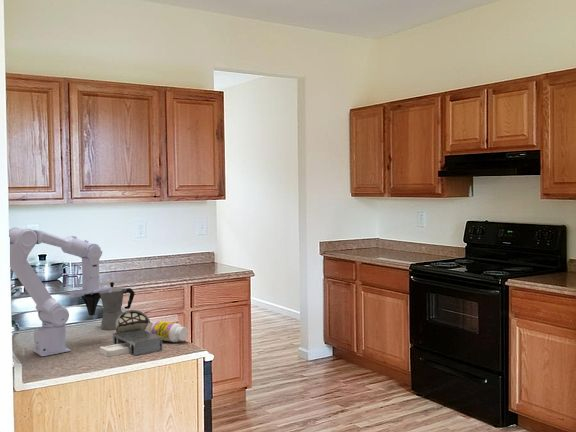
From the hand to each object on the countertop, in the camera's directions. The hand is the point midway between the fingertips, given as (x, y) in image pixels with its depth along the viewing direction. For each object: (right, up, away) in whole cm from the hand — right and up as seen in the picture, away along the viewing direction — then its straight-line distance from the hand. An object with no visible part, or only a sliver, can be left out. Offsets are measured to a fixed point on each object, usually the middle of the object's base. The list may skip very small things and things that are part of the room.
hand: (91, 314), depth 204 cm
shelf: (+18, -10, -7) cm, 22 cm away
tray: (+14, -10, -11) cm, 20 cm away
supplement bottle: (+22, -6, +5) cm, 23 cm away
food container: (+11, -8, +6) cm, 15 cm away
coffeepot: (+2, -9, +22) cm, 24 cm away
